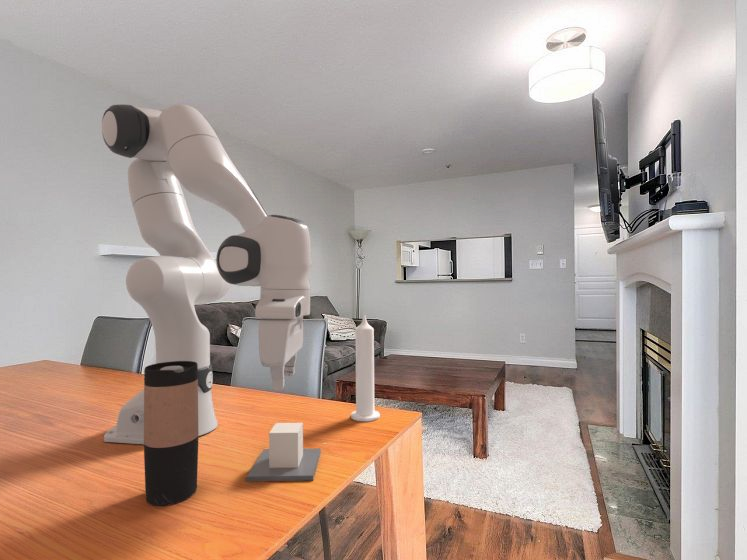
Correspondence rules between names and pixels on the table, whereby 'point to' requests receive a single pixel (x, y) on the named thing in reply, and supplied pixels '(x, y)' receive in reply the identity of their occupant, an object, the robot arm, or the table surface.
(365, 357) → the candle
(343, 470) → the table surface
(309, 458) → the slate plate
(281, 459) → the cream block
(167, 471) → the travel mug
